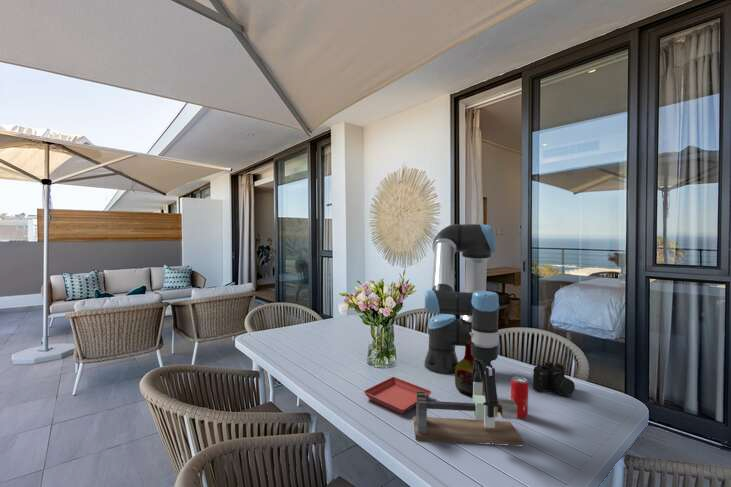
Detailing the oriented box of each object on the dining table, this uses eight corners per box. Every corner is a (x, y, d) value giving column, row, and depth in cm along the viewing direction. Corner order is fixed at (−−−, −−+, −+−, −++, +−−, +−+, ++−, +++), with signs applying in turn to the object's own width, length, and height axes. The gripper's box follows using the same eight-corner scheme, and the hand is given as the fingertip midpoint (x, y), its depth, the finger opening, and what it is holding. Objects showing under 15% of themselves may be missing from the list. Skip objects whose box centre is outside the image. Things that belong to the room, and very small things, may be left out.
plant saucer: (432, 399, 123) (432, 390, 123) (403, 419, 110) (403, 409, 109) (393, 384, 135) (393, 376, 135) (362, 400, 122) (362, 391, 122)
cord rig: (413, 420, 108) (414, 388, 108) (510, 426, 105) (511, 393, 105) (415, 439, 98) (415, 404, 98) (522, 446, 95) (523, 409, 95)
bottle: (488, 397, 124) (489, 343, 124) (478, 402, 120) (479, 347, 120) (461, 385, 134) (462, 335, 133) (451, 390, 130) (452, 338, 129)
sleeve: (472, 411, 104) (472, 395, 104) (489, 411, 103) (489, 395, 103) (476, 419, 99) (476, 403, 99) (494, 420, 98) (494, 404, 98)
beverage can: (512, 409, 115) (513, 375, 115) (529, 414, 112) (530, 379, 112) (508, 415, 111) (509, 380, 111) (525, 421, 108) (525, 384, 108)
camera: (551, 401, 122) (552, 373, 122) (529, 388, 132) (529, 362, 132) (580, 395, 126) (581, 369, 126) (556, 383, 136) (557, 359, 136)
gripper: (463, 331, 113) (462, 393, 114) (482, 358, 88) (480, 438, 89) (486, 331, 113) (484, 394, 113) (511, 360, 88) (510, 439, 88)
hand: (483, 413), depth 101 cm, fingers open, 13 cm apart
